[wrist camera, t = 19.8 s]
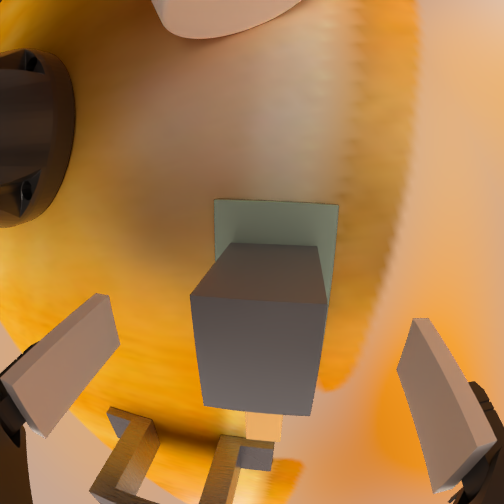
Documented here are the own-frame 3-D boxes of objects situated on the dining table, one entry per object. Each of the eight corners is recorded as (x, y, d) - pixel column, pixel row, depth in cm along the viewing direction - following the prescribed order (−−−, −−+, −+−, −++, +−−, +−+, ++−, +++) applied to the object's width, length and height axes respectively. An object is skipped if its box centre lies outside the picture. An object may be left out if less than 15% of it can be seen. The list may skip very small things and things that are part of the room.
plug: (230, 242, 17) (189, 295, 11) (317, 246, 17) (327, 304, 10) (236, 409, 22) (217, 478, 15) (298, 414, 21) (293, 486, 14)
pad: (215, 199, 17) (213, 199, 17) (338, 204, 16) (338, 205, 16) (221, 365, 21) (220, 368, 21) (316, 374, 20) (316, 376, 20)
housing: (110, 406, 25) (62, 477, 15) (274, 441, 23) (258, 540, 13) (121, 431, 27) (81, 497, 17) (271, 463, 24) (257, 550, 15)
